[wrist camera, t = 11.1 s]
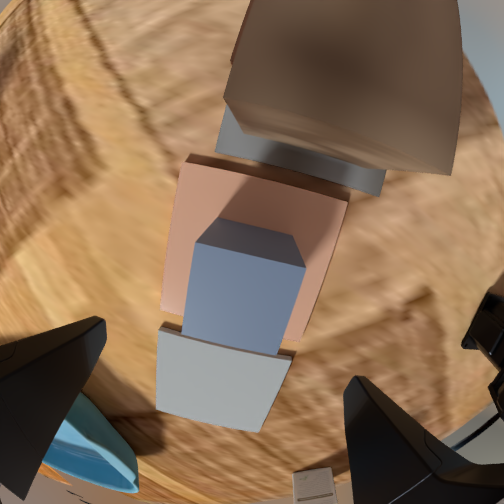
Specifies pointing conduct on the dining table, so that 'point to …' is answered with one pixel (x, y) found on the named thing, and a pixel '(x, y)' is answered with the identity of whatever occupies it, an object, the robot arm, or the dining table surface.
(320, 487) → the syrup box
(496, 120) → the dining table surface
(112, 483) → the casserole dish
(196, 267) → the block
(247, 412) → the grey mat
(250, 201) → the terracotta mat
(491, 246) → the dining table surface
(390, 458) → the robot arm
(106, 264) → the dining table surface
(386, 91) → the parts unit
